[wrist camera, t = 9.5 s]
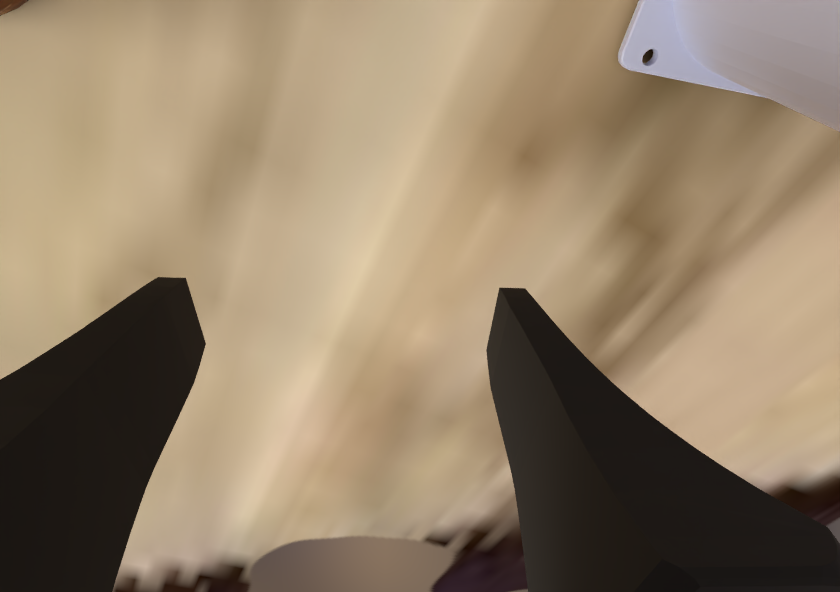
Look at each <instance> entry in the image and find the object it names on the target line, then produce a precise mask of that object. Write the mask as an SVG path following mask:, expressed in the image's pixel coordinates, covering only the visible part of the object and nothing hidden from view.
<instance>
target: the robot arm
mask: <svg viewBox="0 0 840 592" xmlns="http://www.w3.org/2000/svg"><path fill="white" fill-rule="evenodd" d="M649 49H653V56H652V58H651V59H650V61H648V62H647V63H643V62H642V58H643V55H644V54H645V52H646V51H648V50H649ZM618 60H619V63H620V64H621V66H623V67H624V68H626V69H628V70H631V71H636V72H641V73H646V74H651V75H656V76H661V77H666V78H671V79H676V80H681V81H686V82H691V83H696V84H701V85H705V86H710V87H715V88H720V89H725V90H730V91H735V92H740V93H745V94H750V95H755V96H760V97H765V98H769V99H771V100H773V101H775V102H777V103H779V104H782V105H784V106H786V107H788V108H790V109H792V110H794V111H796V112H799V113H801V114H803V115H805V116H807V117H809V118H811V119H813V120H816V121H818V122H820V123H822V124H824V125H826V126H828V127H830V128H833V129H835V130H837V131H839V132H840V0H639V1H638V4H637V7H636V9H635V12H634V14H633V17H632V19H631V22H630V24H629V27H628V29H627V32H626V34H625V37H624V39H623V42H622V44H621V47H620V49H619V53H618ZM205 344H206V343H205V340H204V336H203V333H202V330H201V327H200V323H199V320H198V317H197V314H196V310H195V307H194V304H193V300H192V297H191V294H190V291H189V287H188V284H187V281H186V278H166V277H158V278H156V279H154V280H153V281H151V282H149V283H148V284H146V285H145V286H143V287H142V288H140V289H139V290H137V291H136V292H135V293H133V294H132V295H130V296H129V297H127V298H126V299H124V300H123V301H122V302H120V303H119V304H117V305H116V306H114V307H113V308H112V309H110V310H109V311H107V312H106V313H104V314H103V315H101V316H100V317H98V318H97V319H96V320H94V321H93V322H91V323H90V324H88V325H87V326H85V327H84V328H82V329H81V330H80V331H78V332H77V333H75V334H74V335H72V336H71V337H69V338H67V339H66V340H64V341H63V342H61V343H59V344H58V345H56V346H55V347H53V348H52V349H50V350H48V351H47V352H45V353H44V354H42V355H41V356H39V357H37V358H36V359H34V360H33V361H31V362H30V363H28V364H26V365H25V366H23V367H21V368H20V369H18V370H16V371H15V372H13V373H11V374H9V375H8V376H6V377H4V378H2V379H1V380H0V592H112V591H113V587H114V584H115V580H116V577H117V574H118V570H119V567H120V564H121V561H122V558H123V555H124V551H125V548H126V545H127V542H128V539H129V536H130V532H131V529H132V527H133V524H134V521H135V518H136V515H137V512H138V509H139V506H140V503H141V501H142V498H143V495H144V492H145V489H146V487H147V484H148V482H149V479H150V477H151V475H152V472H153V470H154V468H155V465H156V463H157V461H158V459H159V457H160V455H161V453H162V451H163V448H164V446H165V444H166V442H167V440H168V438H169V436H170V434H171V431H172V429H173V427H174V425H175V423H176V421H177V419H178V417H179V414H180V412H181V410H182V408H183V406H184V404H185V401H186V399H187V397H188V395H189V393H190V390H191V388H192V386H193V384H194V381H195V378H196V375H197V372H198V369H199V366H200V362H201V359H202V355H203V351H204V348H205ZM487 359H488V369H489V377H490V385H491V391H492V395H493V399H494V403H495V407H496V412H497V416H498V420H499V424H500V428H501V432H502V436H503V440H504V444H505V448H506V452H507V456H508V460H509V464H510V468H511V473H512V478H513V483H514V488H515V494H516V501H517V508H518V515H519V522H520V529H521V536H522V544H523V552H524V560H525V568H526V576H527V585H528V592H840V543H839V542H838V541H837V539H836V538H835V536H834V535H833V534H832V532H831V531H830V530H829V529H828V528H827V527H826V526H824V525H822V524H821V523H819V522H817V521H815V520H813V519H812V518H810V517H808V516H806V515H804V514H803V513H801V512H799V511H797V510H796V509H794V508H792V507H790V506H788V505H787V504H785V503H783V502H781V501H779V500H778V499H776V498H774V497H772V496H771V495H769V494H767V493H765V492H763V491H762V490H760V489H758V488H757V487H755V486H753V485H752V484H750V483H748V482H747V481H745V480H744V479H742V478H740V477H739V476H737V475H736V474H734V473H733V472H731V471H729V470H728V469H726V468H725V467H723V466H721V465H720V464H718V463H717V462H715V461H714V460H712V459H711V458H709V457H708V456H706V455H705V454H703V453H702V452H700V451H699V450H697V449H696V448H694V447H693V446H692V445H690V444H689V443H687V442H686V441H685V440H683V439H682V438H681V437H679V436H678V435H676V434H675V433H674V432H672V431H671V430H669V429H668V428H667V427H665V426H664V425H663V424H661V423H660V422H659V421H657V420H656V419H655V418H654V417H652V416H651V415H650V414H648V413H647V412H646V411H645V410H644V409H642V408H641V407H640V406H639V405H638V404H636V403H635V402H634V401H633V400H632V399H630V398H629V397H628V396H627V395H626V394H624V393H623V392H622V391H621V390H620V389H619V388H618V387H617V386H615V385H614V384H613V383H612V382H611V381H610V380H609V379H608V378H607V377H606V376H605V375H604V374H603V373H602V372H601V371H599V370H598V369H597V368H596V367H595V366H594V365H593V364H592V363H591V362H590V361H589V360H588V359H587V358H586V357H585V356H584V355H583V354H582V353H581V352H580V351H579V350H578V348H577V347H576V346H575V345H574V344H573V343H572V342H571V341H570V340H569V339H568V338H567V337H566V336H565V334H564V333H563V332H562V331H561V330H560V329H559V328H558V326H557V325H556V324H555V323H554V322H553V321H552V320H551V318H550V317H549V316H548V315H547V314H546V313H545V311H544V310H543V309H542V308H541V307H540V305H539V304H538V303H537V302H536V301H535V300H534V298H533V297H532V296H531V295H530V294H529V293H528V291H527V290H526V289H523V288H499V293H498V297H497V302H496V307H495V312H494V317H493V321H492V326H491V331H490V336H489V340H488V345H487Z"/></svg>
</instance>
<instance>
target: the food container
mask: <svg viewBox="0 0 840 592" xmlns="http://www.w3.org/2000/svg"><path fill="white" fill-rule="evenodd" d="M27 1H28V0H0V15H3V14H5V13H7V12H10V11H12V10H14V9H17V8H19V7H20V6H21V5H23V4H24V3H25V2H27Z"/></svg>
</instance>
